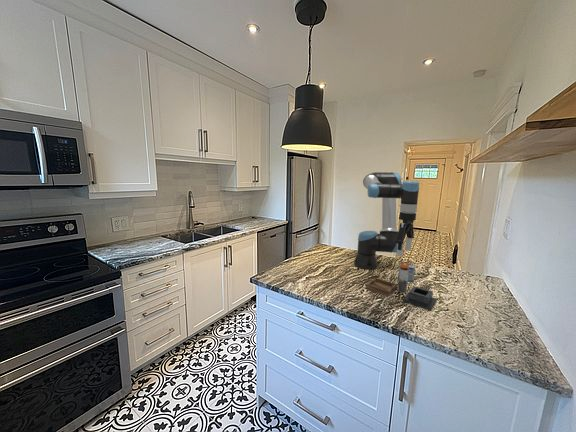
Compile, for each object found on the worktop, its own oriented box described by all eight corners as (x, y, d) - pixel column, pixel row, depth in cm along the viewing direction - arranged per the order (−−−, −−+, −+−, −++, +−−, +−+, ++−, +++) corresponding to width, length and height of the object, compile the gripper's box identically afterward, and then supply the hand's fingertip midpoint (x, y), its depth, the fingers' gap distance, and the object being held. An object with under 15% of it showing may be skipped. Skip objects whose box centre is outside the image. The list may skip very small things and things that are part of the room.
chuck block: (410, 292, 127) (411, 283, 126) (436, 301, 119) (437, 291, 118) (402, 301, 118) (403, 291, 117) (430, 310, 110) (432, 300, 110)
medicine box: (398, 279, 143) (399, 265, 142) (398, 276, 147) (399, 263, 146) (413, 282, 140) (414, 268, 138) (413, 279, 144) (414, 265, 142)
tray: (374, 281, 140) (374, 277, 139) (396, 288, 132) (396, 284, 131) (365, 289, 131) (365, 284, 130) (388, 296, 123) (388, 291, 122)
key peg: (399, 288, 132) (402, 261, 130) (407, 290, 130) (410, 263, 127) (397, 290, 130) (399, 263, 127) (405, 293, 127) (407, 265, 124)
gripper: (407, 209, 134) (404, 246, 137) (391, 214, 116) (387, 257, 119) (422, 210, 129) (418, 249, 132) (408, 216, 111) (403, 260, 114)
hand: (403, 253), depth 126 cm, fingers open, 13 cm apart
